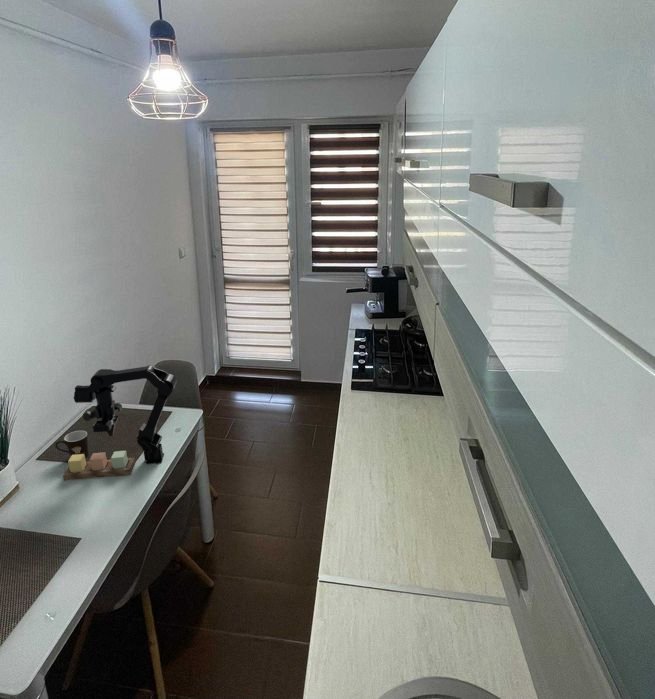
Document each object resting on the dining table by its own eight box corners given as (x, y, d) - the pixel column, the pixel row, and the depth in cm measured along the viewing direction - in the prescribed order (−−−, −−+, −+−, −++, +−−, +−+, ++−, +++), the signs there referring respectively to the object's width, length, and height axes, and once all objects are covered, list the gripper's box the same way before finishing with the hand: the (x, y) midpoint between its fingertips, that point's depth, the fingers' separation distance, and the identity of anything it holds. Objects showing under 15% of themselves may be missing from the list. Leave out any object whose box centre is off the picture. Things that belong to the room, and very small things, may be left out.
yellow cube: (86, 464, 197) (84, 453, 195) (82, 471, 193) (80, 460, 191) (74, 465, 196) (72, 454, 195) (70, 472, 192) (67, 461, 190)
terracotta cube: (107, 462, 198) (105, 452, 196) (104, 469, 194) (101, 458, 192) (95, 463, 197) (93, 453, 196) (92, 470, 193) (89, 459, 191)
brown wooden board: (135, 462, 202) (134, 457, 201) (130, 474, 194) (129, 469, 193) (71, 467, 199) (70, 462, 198) (63, 480, 191) (62, 475, 190)
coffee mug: (95, 451, 210) (91, 431, 206) (84, 463, 202) (79, 442, 198) (69, 450, 211) (65, 429, 207) (57, 461, 203) (52, 440, 199)
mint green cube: (128, 461, 199) (126, 450, 197) (125, 467, 195) (123, 457, 193) (116, 462, 198) (114, 451, 196) (113, 468, 194) (111, 458, 192)
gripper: (91, 391, 200) (98, 425, 206) (74, 413, 183) (82, 449, 189) (119, 390, 202) (125, 423, 207) (105, 412, 184) (112, 447, 190)
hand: (111, 435), depth 198 cm, fingers closed
